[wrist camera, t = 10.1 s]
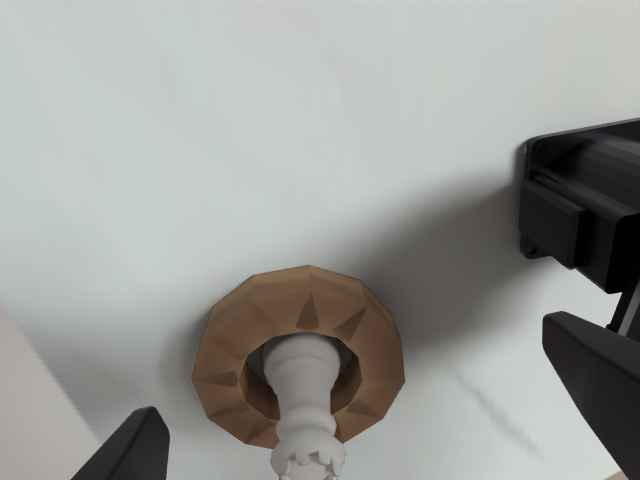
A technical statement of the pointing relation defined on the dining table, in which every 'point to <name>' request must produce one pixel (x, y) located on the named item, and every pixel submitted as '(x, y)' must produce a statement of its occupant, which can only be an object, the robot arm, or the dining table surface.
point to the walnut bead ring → (290, 317)
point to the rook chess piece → (304, 405)
